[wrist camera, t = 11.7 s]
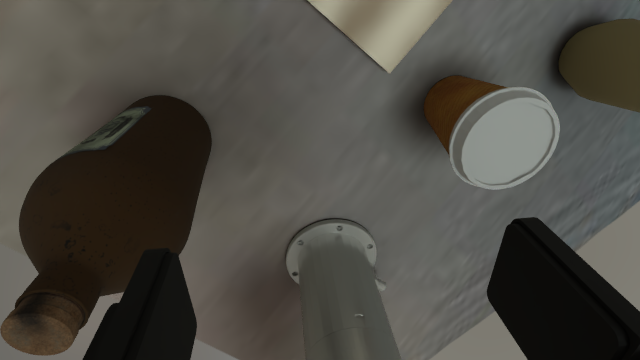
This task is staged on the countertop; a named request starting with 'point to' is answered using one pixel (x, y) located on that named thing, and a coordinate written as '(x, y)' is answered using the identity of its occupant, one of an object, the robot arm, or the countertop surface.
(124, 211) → the olive oil
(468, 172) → the disposable coffee cup
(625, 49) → the squeeze bottle
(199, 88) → the countertop surface
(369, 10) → the lever board
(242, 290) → the countertop surface
